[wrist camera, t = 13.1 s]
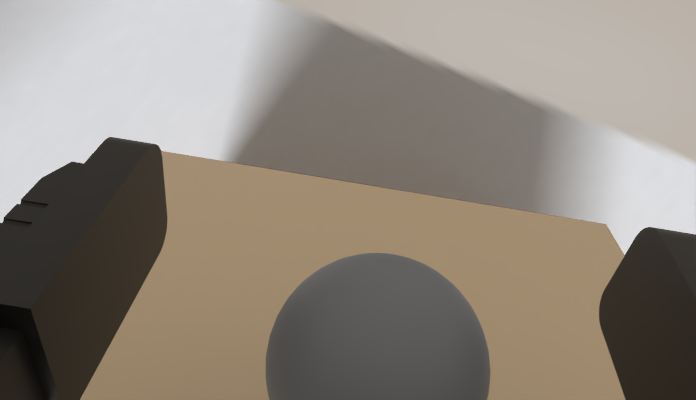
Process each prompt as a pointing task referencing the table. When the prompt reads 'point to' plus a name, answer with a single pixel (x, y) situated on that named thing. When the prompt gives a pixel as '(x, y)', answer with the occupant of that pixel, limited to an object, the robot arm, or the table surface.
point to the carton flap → (359, 296)
